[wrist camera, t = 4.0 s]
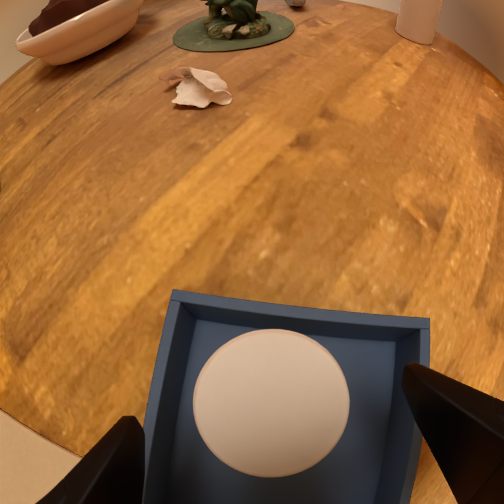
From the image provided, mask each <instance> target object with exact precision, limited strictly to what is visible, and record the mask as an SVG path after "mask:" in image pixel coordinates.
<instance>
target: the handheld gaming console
mask: <svg viewBox="0 0 504 504" xmlns="http://www.w3.org/2000/svg"><path fill="white" fill-rule="evenodd" d="M286 2H287V4H288V5H289V6H298V7H299V6H303V5H304V4H305V0H286Z"/></svg>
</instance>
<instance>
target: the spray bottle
mask: <svg viewBox="0 0 504 504" xmlns="http://www.w3.org/2000/svg"><path fill="white" fill-rule="evenodd" d="M442 3H443V0H401V2H400V7H399V13H398V18H397V23H396V28H395V30H396V32H397V33H398V34H400V35H401V36H403V37H404V38H406V39H409V40H411V41H413V42H416V43H420V44H424V45H430V44H432V42H433V38H434V35H435V31H436V27H437V23H438V20H439V15H440V11H441V7H442Z"/></svg>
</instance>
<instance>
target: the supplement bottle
mask: <svg viewBox="0 0 504 504" xmlns="http://www.w3.org/2000/svg"><path fill="white" fill-rule="evenodd" d="M349 405H350V399H349V391H348V387H347V383H346V380H345V377H344V374H343V372H342V370H341V368H340V366H339V364H338V363H337V361H336V360H335V359H334V357H333V356H332V355H331V354H330V353H329V351H328V350H327V349H326V348H324V347H323V346H322V345H320V344H319V343H318V342H316V341H315V340H313V339H311V338H309V337H307V336H305V335H303V334H300V333H297V332H293V331H289V330H283V329H264V330H256V331H251V332H248V333H245V334H242V335H240V336H238V337H235V338H234V339H232V340H230V341H228V342H227V343H226V344H224V345H223V346H221V347H220V348H219V349H218V350H216V352H215V353H214V354H213V355H212V356H211V357H210V358H209V359H208V361H207V362H206V363H205V365H204V367H203V368H202V370H201V372H200V374H199V376H198V378H197V381H196V385H195V388H194V394H193V413H194V418H195V422H196V425H197V428H198V431H199V433H200V435H201V437H202V438H203V440H204V442H205V443H206V445H207V446H208V448H209V449H210V450H211V451H212V452H213V453H214V455H215V456H216V457H218V458H219V459H220V460H221V461H222V462H224V463H225V464H227V465H228V466H230V467H232V468H234V469H236V470H238V471H240V472H243V473H246V474H248V475H253V476H258V477H284V476H288V475H293V474H296V473H299V472H302V471H304V470H306V469H308V468H310V467H312V466H314V465H315V464H317V463H318V462H320V461H321V460H322V459H323V458H324V457H325V456H327V455H328V454H329V453H330V452H331V450H332V449H333V448H334V447H335V445H336V444H337V442H338V441H339V439H340V437H341V436H342V434H343V432H344V429H345V427H346V424H347V420H348V415H349Z"/></svg>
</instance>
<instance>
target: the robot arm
mask: <svg viewBox="0 0 504 504" xmlns="http://www.w3.org/2000/svg"><path fill="white" fill-rule="evenodd" d="M401 388H402V391H403V393H404V396H405V398H406V400H407V403H408V405H409V408H410V410H411V413H412V415H413V417H414V420H415V422H416V424H417V426H418V428H419V430H420V432H421V433H422V435H423V437H424V439H425V441H426V443H427V444H428V446H429V448H430V450H431V452H432V454H433V456H434V457H435V459H436V461H437V463H438V465H439V467H440V469H441V471H442V473H443V475H444V477H445V479H446V481H447V483H448V485H449V487H450V489H451V491H452V493H453V495H454V497H455V499H456V501H457V503H458V504H504V401H502V400H499V399H497V398H494V397H492V396H490V395H488V394H485V393H483V392H481V391H479V390H476V389H474V388H472V387H470V386H467V385H465V384H463V383H461V382H458V381H456V380H454V379H452V378H450V377H447V376H445V375H443V374H441V373H439V372H436V371H434V370H432V369H430V368H428V367H426V366H423V365H421V364H419V363H417V362H412V363H409V364H406V365H405V366H404V367H403V372H402V378H401ZM144 479H145V432H144V430H143V428H142V427H141V425H140V423H139V422H138V420H137V419H136V417H135V416H123V417H121V418H120V419H119V420H118V422H117V423H116V424H115V425H114V426H113V427H112V428H111V429H110V430H109V431H108V432H107V433H106V434H105V435H104V436H103V437H102V438H101V439H100V440H99V441H98V443H97V444H96V445H95V446H94V447H93V448H92V449H91V450H90V451H89V452H88V453H87V454H86V455H85V456H84V457H83V458H82V459H81V460H80V461H79V462H78V463H77V464H76V465H75V466H74V467H73V469H72V470H71V471H70V472H69V473H68V474H67V475H66V476H65V477H64V479H62V480H61V481H60V482H59V483H58V484H57V485H56V486H55V487H54V488H53V489H52V490H51V491H50V492H49V493H47V494H46V495H45V496H44V497H43V498H42V499H40V500H39V501H38V502H37V503H35V504H142V498H143V488H144Z"/></svg>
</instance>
